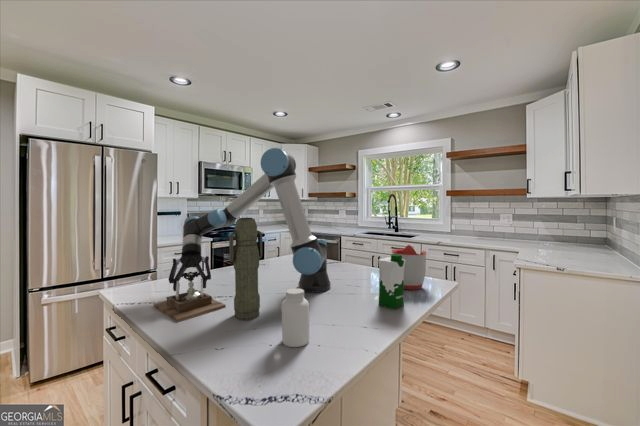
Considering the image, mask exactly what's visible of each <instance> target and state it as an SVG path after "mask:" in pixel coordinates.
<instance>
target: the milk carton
mask: <svg viewBox="0 0 640 426" xmlns="http://www.w3.org/2000/svg"><path fill="white" fill-rule="evenodd" d="M377 263H378V268H379V270H378V272H379V274H378V276H379V278H378V280H379V281H378V282H379V283H378V286H379V287H378V288H379V289H378V291H379V292H378V306H381V307H385V308H388V309H391V310H396V309H399V308H400V307H403V306H404V305H405V299H404V298H405V297H404V296H405V295H404V290H405V289H404V267H405V260H403V259H402V255H399V254H390V256H388V257H384V258H381V259H377Z"/></svg>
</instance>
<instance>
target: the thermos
mask: <svg viewBox="0 0 640 426" xmlns="http://www.w3.org/2000/svg"><path fill="white" fill-rule="evenodd" d="M234 224H235V225H234V231H231V233H230V234H229V236H228V245H229V247H228V248H229V249H228V252H229V262H230V263H233V269H234V271H235V273H234V274H235V275H234V279H235V281H234V282H235V286H234V287H235V295H234V298H233V310H234V318H235V319H236V320H239V321H251V320H254V319H257V318H258V317H260V315H261V314H260V308H261V302H260V301H261V299H260V298H261V296H260V294H259V267H260V260H261V259H262V258H263V233H262V232H261V230H258V225H257V222H256V220H255V218H253V217H238V218H237V219H236V222H235V223H234ZM234 241H235V244H234Z"/></svg>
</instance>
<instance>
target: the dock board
mask: <svg viewBox="0 0 640 426" xmlns="http://www.w3.org/2000/svg"><path fill="white" fill-rule="evenodd" d="M195 292H199V293H200V294H201V290H198V289H195ZM195 292H194V293H195ZM187 295H188V293H187V291H186V292H182V293H179V300H176V294H174V295H170V296H167V297H166V300H164V301H161V302H160V301H159V302H156V303H153V308H155V309H156V310H158V311H160V312H161V313H163V314H164V315H166V316H168V317H169V318H170V319H172V320H174V321H175V322H177V323H179V322H183V321H185V320H188V319H192V318H196V317H198V316H199V317H200V316H201V315H204V314H208V313H211V312H215V311H219V310H221V309H224V308H226V304H225V303H222V302H220V301H218V300H216V299H213V298H212V295H210V294H207V293H205V292H203V297H201V298H199V299H196V300H192V301H188V302H184V303H182V302H181V300H182V298H183V297H185V296H187Z"/></svg>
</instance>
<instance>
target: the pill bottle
mask: <svg viewBox="0 0 640 426" xmlns="http://www.w3.org/2000/svg"><path fill="white" fill-rule="evenodd" d="M281 333H282V334H281V335H282V339H281V340H282V343H283V345H284V346H285V347H288V348H289V347H290V348H301V347H304V346H306V345H307V344H308V343H309V342H310V305H309V301H308V299H306V298H305V291H304V290H303V289H299V288H298V287H297V288H289V289H287V290H286V291H285V299H284V300H283V301H282V303H281Z"/></svg>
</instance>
